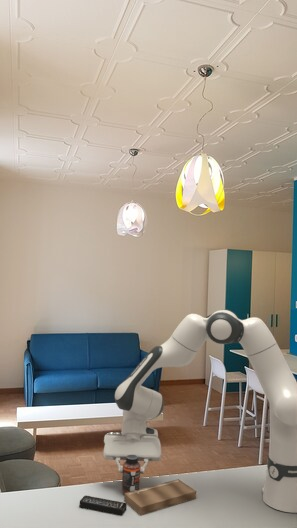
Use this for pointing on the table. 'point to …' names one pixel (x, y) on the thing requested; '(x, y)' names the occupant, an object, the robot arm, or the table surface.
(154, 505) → the walnut board
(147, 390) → the robot arm
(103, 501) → the multiport hub
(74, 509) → the table surface
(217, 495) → the table surface
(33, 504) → the table surface
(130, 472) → the supplement bottle
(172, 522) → the table surface
